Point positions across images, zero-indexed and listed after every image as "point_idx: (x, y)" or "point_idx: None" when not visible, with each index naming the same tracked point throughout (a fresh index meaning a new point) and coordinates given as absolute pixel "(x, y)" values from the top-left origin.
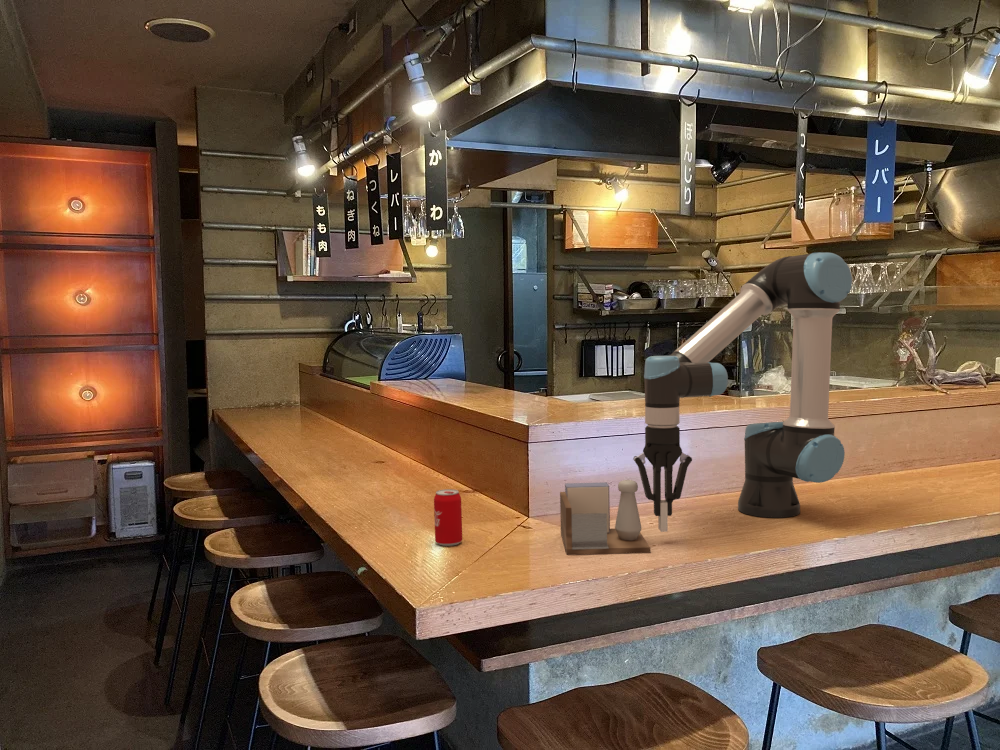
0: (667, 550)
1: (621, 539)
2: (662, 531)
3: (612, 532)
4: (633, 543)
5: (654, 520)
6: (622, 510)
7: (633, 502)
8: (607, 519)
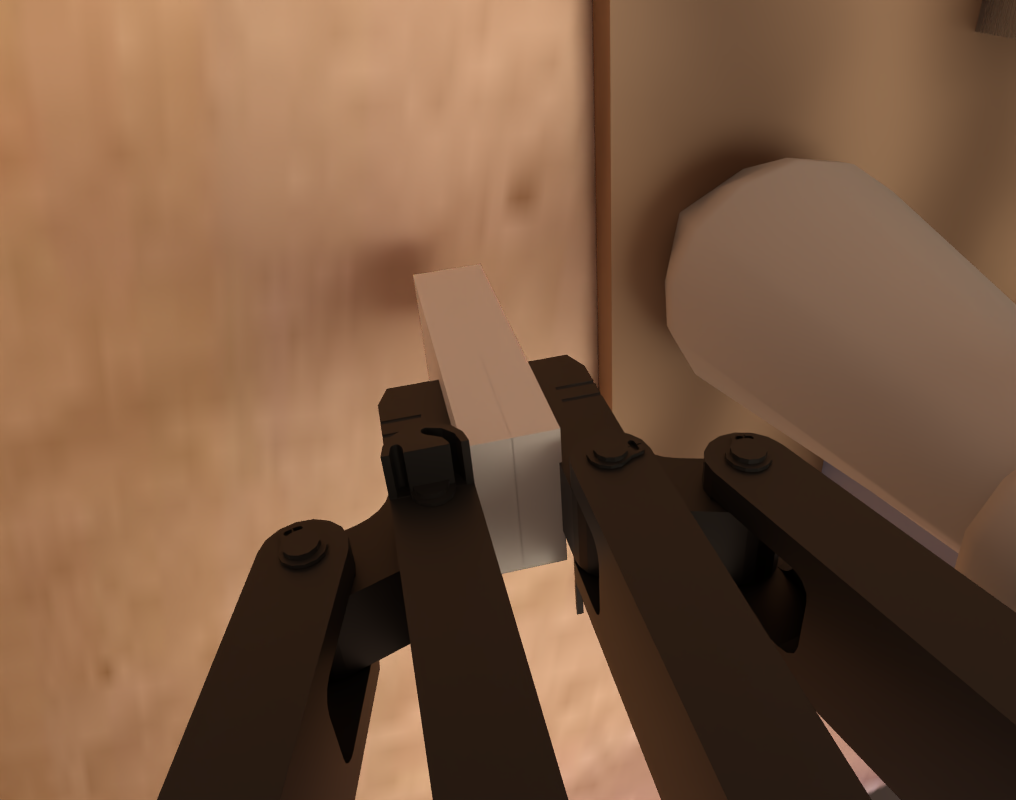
0: (414, 22)
1: None
2: (465, 267)
3: None
4: (740, 70)
5: None
6: (995, 292)
7: (936, 363)
8: None
